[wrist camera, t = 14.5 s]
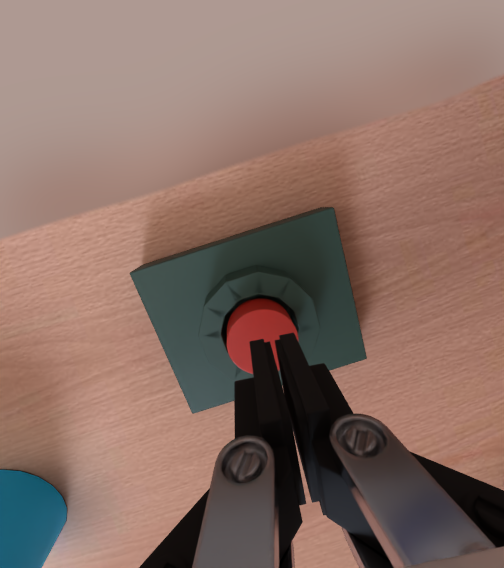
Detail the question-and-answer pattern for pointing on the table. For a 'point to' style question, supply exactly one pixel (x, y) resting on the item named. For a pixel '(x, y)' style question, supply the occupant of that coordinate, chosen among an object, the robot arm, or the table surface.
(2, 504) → the mug
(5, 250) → the table surface
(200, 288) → the button box
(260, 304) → the button
